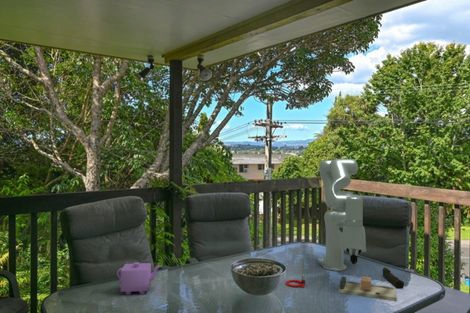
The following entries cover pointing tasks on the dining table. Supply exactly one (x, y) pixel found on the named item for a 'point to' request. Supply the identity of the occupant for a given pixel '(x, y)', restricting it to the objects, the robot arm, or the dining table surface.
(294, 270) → the dining table surface
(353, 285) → the gauge board
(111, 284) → the dining table surface
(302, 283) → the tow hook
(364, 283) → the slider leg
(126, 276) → the teapot
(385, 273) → the hand tool
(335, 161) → the robot arm
